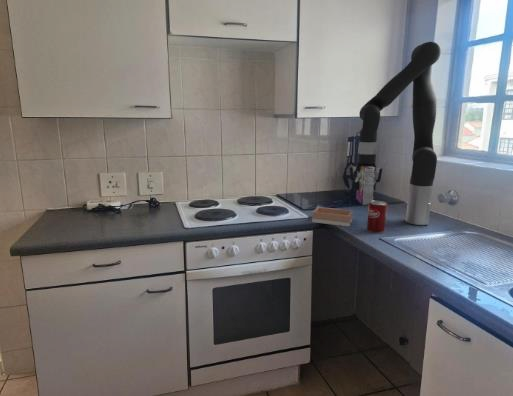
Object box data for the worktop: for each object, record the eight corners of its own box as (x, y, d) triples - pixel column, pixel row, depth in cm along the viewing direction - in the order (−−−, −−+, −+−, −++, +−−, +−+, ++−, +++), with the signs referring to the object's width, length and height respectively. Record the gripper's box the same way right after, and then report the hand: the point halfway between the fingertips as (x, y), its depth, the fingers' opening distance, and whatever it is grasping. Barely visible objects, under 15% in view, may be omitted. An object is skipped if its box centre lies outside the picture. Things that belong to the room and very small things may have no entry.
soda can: (372, 234, 153) (375, 205, 150) (363, 228, 160) (365, 200, 157) (388, 232, 155) (391, 204, 152) (378, 227, 162) (380, 200, 159)
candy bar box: (355, 199, 174) (357, 163, 170) (366, 199, 174) (368, 163, 170) (361, 205, 163) (364, 167, 159) (373, 205, 163) (376, 167, 159)
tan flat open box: (352, 220, 171) (352, 210, 170) (348, 226, 162) (349, 216, 161) (317, 216, 177) (317, 206, 176) (312, 221, 168) (312, 212, 167)
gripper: (385, 152, 165) (382, 190, 168) (351, 151, 170) (349, 188, 173) (384, 154, 158) (381, 193, 162) (348, 152, 163) (346, 191, 167)
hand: (364, 190), depth 167 cm, fingers closed on candy bar box, 6 cm apart
